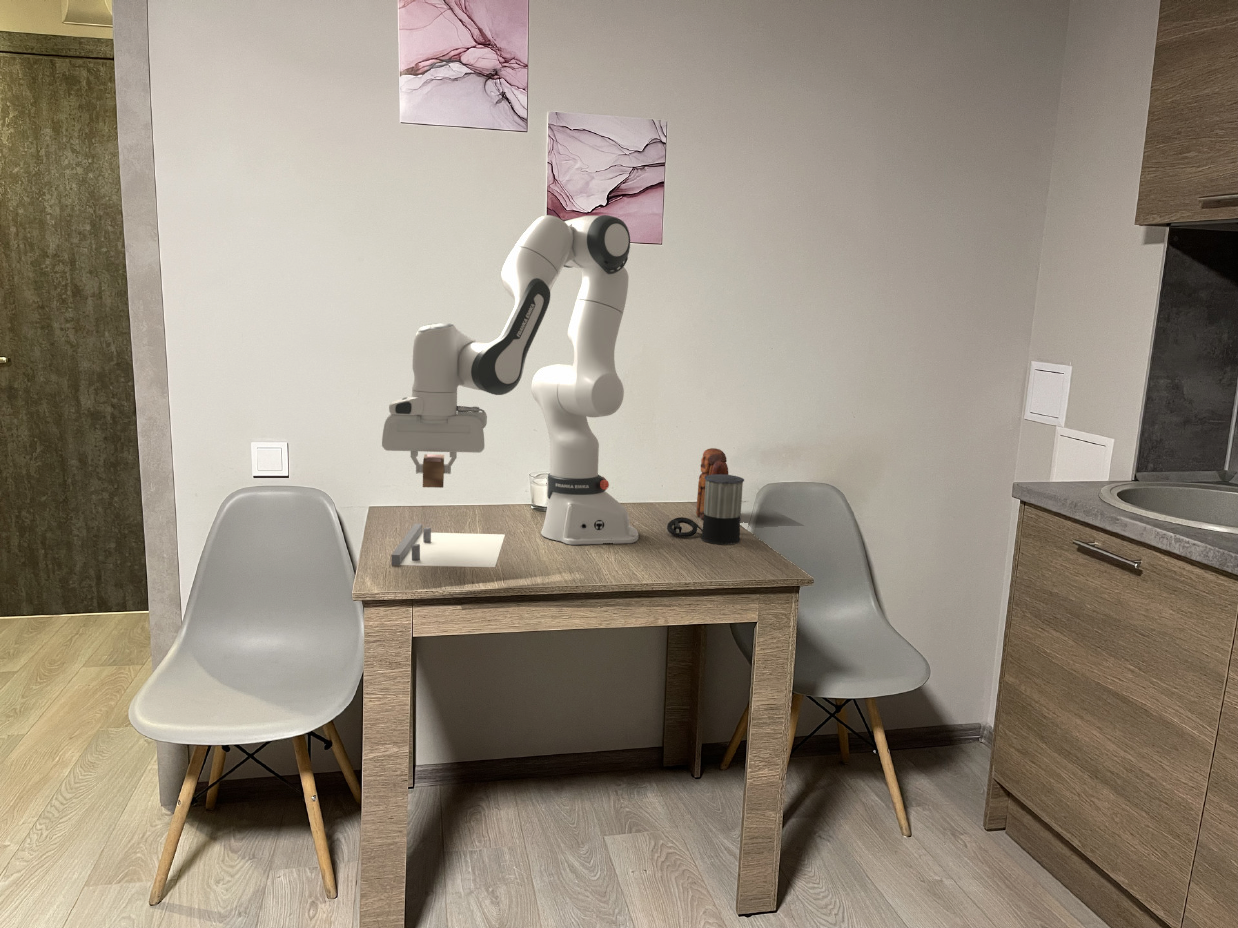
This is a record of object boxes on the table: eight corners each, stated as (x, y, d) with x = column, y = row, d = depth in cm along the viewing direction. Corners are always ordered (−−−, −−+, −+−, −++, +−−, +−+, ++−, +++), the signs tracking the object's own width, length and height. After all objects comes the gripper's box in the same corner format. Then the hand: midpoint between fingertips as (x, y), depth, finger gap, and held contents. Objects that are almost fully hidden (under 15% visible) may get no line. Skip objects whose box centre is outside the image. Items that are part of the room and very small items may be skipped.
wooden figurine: (691, 513, 236) (694, 445, 233) (714, 512, 238) (717, 445, 235) (706, 523, 225) (710, 452, 222) (730, 523, 226) (734, 452, 223)
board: (504, 539, 202) (505, 521, 201) (494, 573, 176) (495, 552, 175) (414, 537, 201) (414, 519, 200) (391, 570, 175) (391, 549, 174)
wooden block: (443, 478, 187) (444, 454, 187) (443, 487, 178) (443, 461, 177) (424, 478, 187) (424, 453, 186) (422, 487, 177) (423, 461, 176)
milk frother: (747, 544, 206) (751, 481, 203) (682, 547, 202) (685, 482, 199) (723, 529, 219) (726, 470, 217) (662, 531, 215) (664, 470, 213)
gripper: (486, 405, 185) (484, 471, 187) (383, 402, 181) (383, 469, 183) (487, 408, 179) (485, 477, 181) (381, 405, 175) (380, 475, 177)
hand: (433, 473), depth 182 cm, fingers closed on wooden block, 4 cm apart
